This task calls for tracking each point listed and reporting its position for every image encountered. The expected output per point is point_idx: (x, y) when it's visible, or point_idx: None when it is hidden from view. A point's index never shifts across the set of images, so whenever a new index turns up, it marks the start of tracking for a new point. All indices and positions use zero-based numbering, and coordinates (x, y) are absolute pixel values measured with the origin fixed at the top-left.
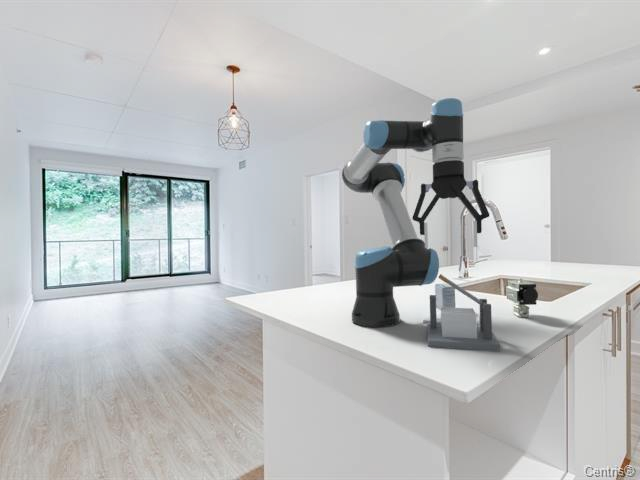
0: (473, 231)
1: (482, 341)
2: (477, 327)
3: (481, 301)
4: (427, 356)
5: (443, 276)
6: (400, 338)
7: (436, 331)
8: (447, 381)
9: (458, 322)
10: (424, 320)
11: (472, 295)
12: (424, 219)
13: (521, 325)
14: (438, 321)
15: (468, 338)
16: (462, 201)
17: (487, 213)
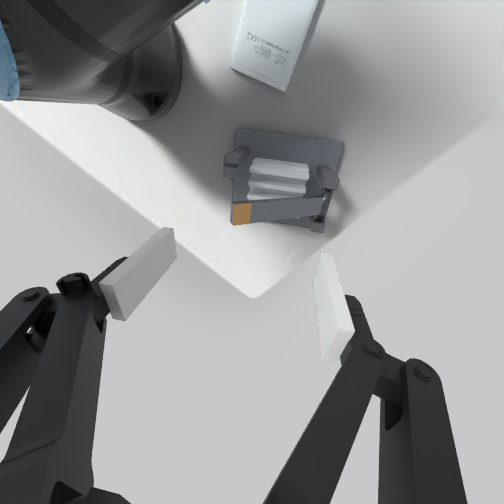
0: (318, 317)
1: (300, 217)
2: (321, 144)
3: (317, 207)
4: (230, 242)
5: (240, 214)
6: (196, 181)
7: (246, 173)
8: (243, 288)
9: None
10: (233, 68)
11: (302, 206)
12: (102, 330)
13: (448, 67)
14: (262, 76)
15: None
16: (272, 486)
17: (402, 410)
